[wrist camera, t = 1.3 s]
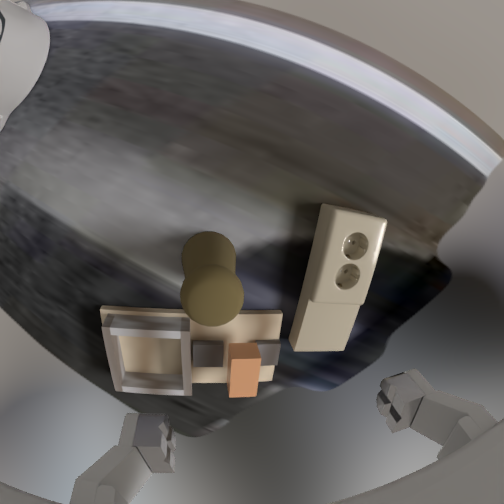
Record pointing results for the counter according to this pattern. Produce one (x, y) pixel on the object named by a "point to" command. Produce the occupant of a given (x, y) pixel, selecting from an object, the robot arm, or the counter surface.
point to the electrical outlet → (336, 277)
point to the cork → (210, 280)
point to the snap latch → (243, 369)
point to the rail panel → (181, 347)
